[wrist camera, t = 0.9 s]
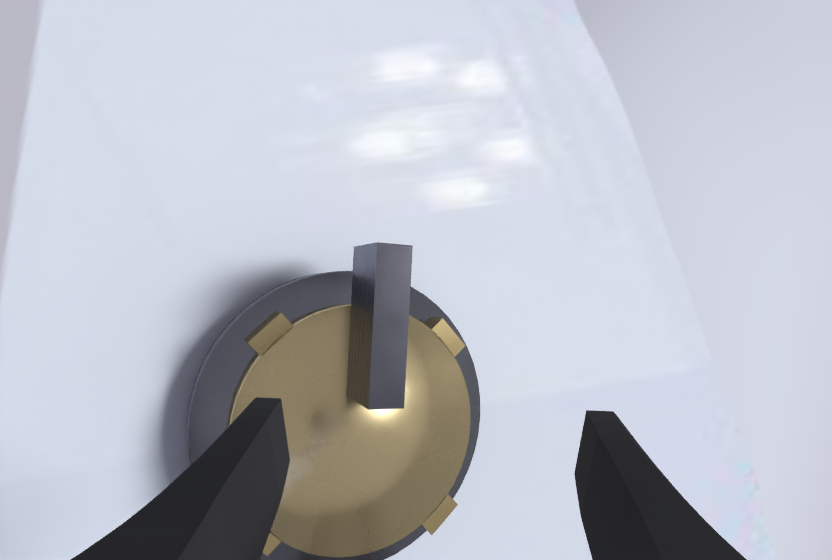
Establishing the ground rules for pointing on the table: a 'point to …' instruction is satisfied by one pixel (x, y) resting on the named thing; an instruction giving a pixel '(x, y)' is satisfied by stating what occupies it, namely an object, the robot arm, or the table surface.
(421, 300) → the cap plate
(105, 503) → the table surface
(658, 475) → the robot arm
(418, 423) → the tabbed brass dial
